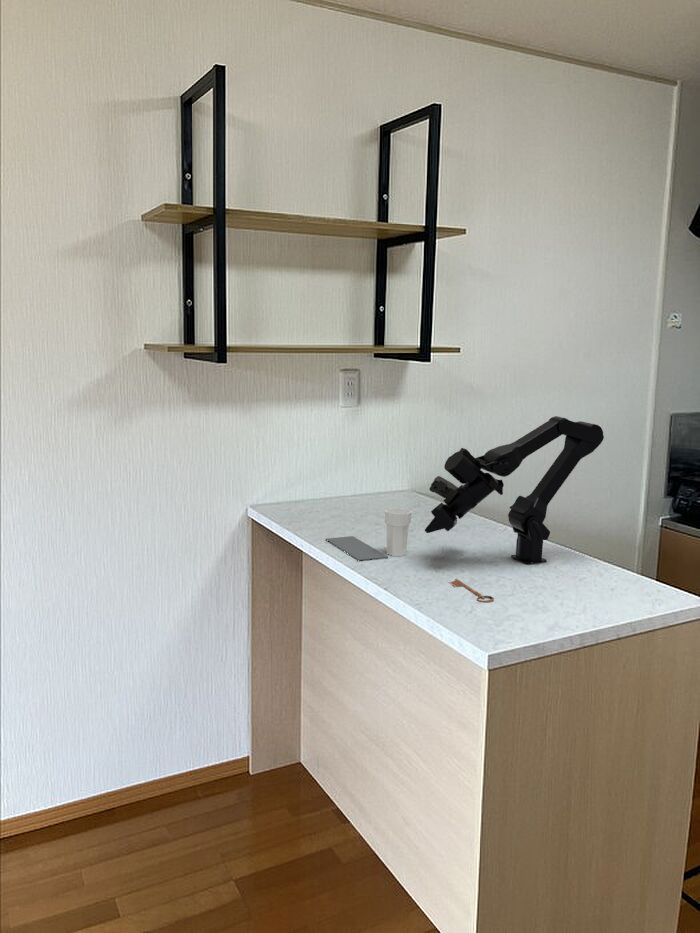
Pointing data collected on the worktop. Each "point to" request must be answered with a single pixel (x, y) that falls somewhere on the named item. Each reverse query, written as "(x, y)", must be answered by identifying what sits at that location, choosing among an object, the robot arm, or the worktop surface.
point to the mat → (356, 548)
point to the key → (472, 591)
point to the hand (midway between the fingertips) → (426, 531)
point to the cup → (397, 530)
